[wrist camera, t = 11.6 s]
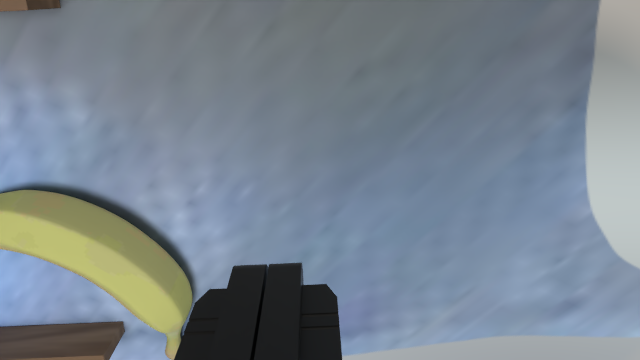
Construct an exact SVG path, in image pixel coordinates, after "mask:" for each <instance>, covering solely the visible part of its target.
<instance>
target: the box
mask: <svg viewBox="0 0 640 360" xmlns="http://www.w3.org/2000/svg"><path fill="white" fill-rule="evenodd" d="M51 8H61V7H60V2H59V0H0V11H20V10H37V9H51ZM124 332H125V330H124V325H123V322H102V323H79V324H56V325H33V326H9V327H0V360H109V359H110V357H111V355H112V354H113V352H114V350H115V348H116V346H117V344H118V343H119V341H120V339H121V337H122V335H123V334H124Z"/></svg>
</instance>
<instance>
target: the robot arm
mask: <svg viewBox="0 0 640 360" xmlns="http://www.w3.org/2000/svg"><path fill="white" fill-rule="evenodd" d="M174 360H342V353H341V340H340V329H339V316H338V303H337V296H336V295H335V294H334V293H333V292H332V290H331V289H330V288H329V287H328V286H327V284H319V285H304V284H303V268H302V263H285V264H269V267H268V266H267V264H264V265H241V266H234V267H233V269H232V273H231V276H230V280H229V283H228V287H227V289H209V290H208V291H207V292H206V293H205V294H204V295H203V296H202V297H201V298H200V299H199V300H198V301H197V302H196V303H195V305H194V307H193V310H192V313H191V315H190V318H189V322H188V323H187V326H186V329H185V331H184V335H183V337H182V339H181V342H180V345H179V347H178V350H177V353H176V355H175V358H174Z"/></svg>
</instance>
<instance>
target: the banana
mask: <svg viewBox="0 0 640 360" xmlns="http://www.w3.org/2000/svg"><path fill="white" fill-rule="evenodd" d="M0 249H4V250H9V251H14V252H19V253H23V254H27V255H31V256H34V257H37V258H40V259H43V260H46V261H49V262H51V263H54V264H56V265H58V266H61V267H63V268H65V269H67V270H69V271H72V272H74V273H76V274H78V275H80V276H82V277H84V278H86V279H87V280H89V281H91V282H92V283H94V284H95V285H97V286H98V287H100V288H101V289H103V290H105V291H106V292H107V293H109V294H110V295H111V296H113V297H114V298H115V299H116V300H117V301H119V302H120V303H121V304H122V305H123V306H124V307H125V308H127V309H128V310H129V311H130V312H131V313H132V314H133V315H135V316H136V317H137V318H138V319H140V320H141V321H143V322H144V323H146V324H147V325H149V326H150V327H152V328H154V329H155V330H157V331H159V332H162V333H165V334H166V336H167V345H166V350H165V354H166V356H167V357H168V358H170V359H171V360H174V358H175V355H176V353H177V350H178V347H179V345H180V342H181V337H180V333H181V329H182V326H183V324H184V322H185V320H186V318H187V316H188V314H189V311H190V308H191V305H192V291H191V287H190V283H189V281H188V279H187V277H186V275H185V273H184V272H183V270H182V269H181V268H180V266H179V265H178V264H177V263H176V262H175V260H174V259H173V258H172V257H171V256H170V255H169V254H168V253H167V252H166V251H165V250H164V249H163V248H162V247H161V246H160V245H158V244H157V243H156V242H155V241H154V240H152V239H151V238H150V237H148V236H147V235H146V234H145V233H143V232H142V231H141V230H139V229H138V228H137V227H135V226H133V225H132V224H130V223H129V222H127V221H126V220H124V219H122V218H120V217H119V216H117V215H115V214H113V213H111V212H109V211H107V210H105V209H103V208H101V207H98V206H96V205H94V204H91V203H88V202H86V201H83V200H80V199H77V198H74V197H71V196H67V195H63V194H59V193H53V192H47V191H38V190H18V191H11V192H6V193H1V194H0Z"/></svg>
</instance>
